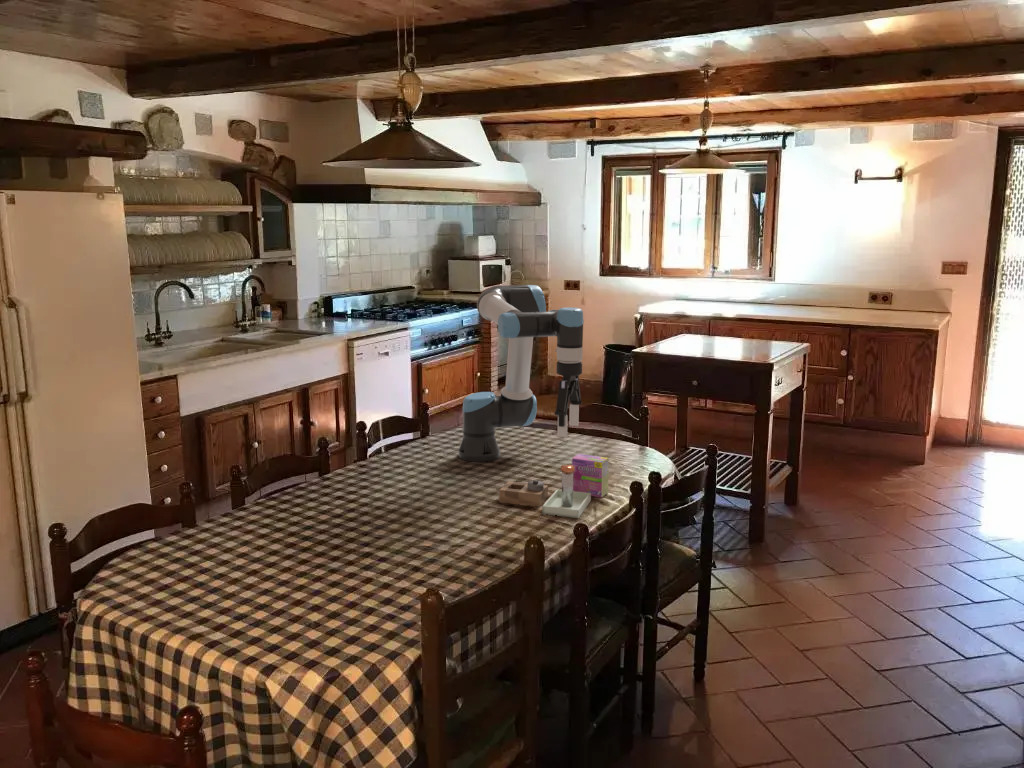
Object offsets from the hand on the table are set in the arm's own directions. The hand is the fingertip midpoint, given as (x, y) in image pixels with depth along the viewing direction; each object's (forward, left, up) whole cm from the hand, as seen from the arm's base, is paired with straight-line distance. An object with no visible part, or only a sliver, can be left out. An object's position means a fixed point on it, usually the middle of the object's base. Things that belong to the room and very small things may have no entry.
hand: (568, 431), depth 244 cm
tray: (0, 0, -24) cm, 24 cm away
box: (-15, +4, -24) cm, 29 cm away
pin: (0, 0, -23) cm, 23 cm away
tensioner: (-2, -14, -24) cm, 28 cm away
